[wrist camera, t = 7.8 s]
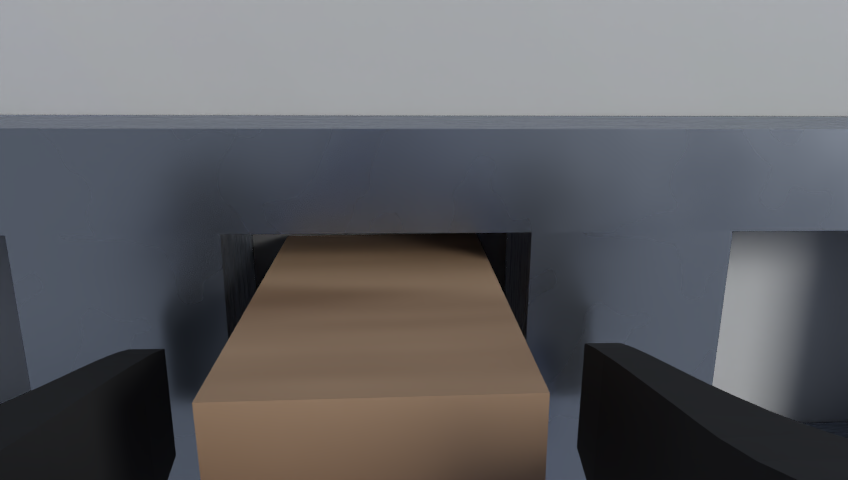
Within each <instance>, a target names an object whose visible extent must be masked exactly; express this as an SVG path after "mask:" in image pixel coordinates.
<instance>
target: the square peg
mask: <svg viewBox="0 0 848 480" xmlns="http://www.w3.org/2000/svg"><path fill="white" fill-rule="evenodd" d="M549 399H550V392H549V390H548V388H547V386H546V384H545V381H544V379H543V377H542V375H541V373H540V371H539V368H538V366H537V364H536V362H535V360H534V358H533V355H532V353H531V351H530V349H529V347H528V345H527V343H526V340H525V338H524V336H523V334H522V332H521V330H520V327H519V325H518V323H517V321H516V319H515V317H514V314H513V312H512V310H511V308H510V306H509V304H508V301H507V299H506V297H505V295H504V293H503V291H502V288H501V286H500V284H499V282H498V280H497V278H496V276H495V273H494V271H493V269H492V267H491V265H490V263H489V260H488V258H487V256H486V254H485V252H484V250H483V247H482V245H481V243H480V241H479V239H478V237H477V234H476V233H436V234H378V235H321V236H288V237H287V239H286V240H285V242H284V244H283V245H282V247H281V249H280V251H279V252H278V254H277V256H276V258H275V259H274V261H273V263H272V265H271V266H270V268H269V270H268V272H267V273H266V275H265V277H264V279H263V280H262V282H261V284H260V285H259V287H258V289H257V291H256V292H255V294H254V296H253V298H252V299H251V301H250V303H249V305H248V306H247V308H246V310H245V312H244V313H243V315H242V317H241V319H240V320H239V322H238V324H237V325H236V327H235V329H234V331H233V332H232V334H231V336H230V338H229V339H228V341H227V343H226V345H225V346H224V348H223V350H222V352H221V353H220V355H219V357H218V359H217V360H216V362H215V364H214V365H213V367H212V369H211V371H210V372H209V374H208V376H207V378H206V379H205V381H204V383H203V385H202V386H201V388H200V390H199V392H198V393H197V395H196V397H195V398H194V400H193V402H192V407H193V416H194V425H195V434H196V443H197V452H198V461H199V470H200V479H201V480H545V479H546V459H547V439H548V419H549Z"/></svg>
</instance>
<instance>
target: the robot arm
mask: <svg viewBox="0 0 848 480" xmlns="http://www.w3.org/2000/svg"><path fill="white" fill-rule="evenodd" d="M577 450H578V453H579V457H580V460H581V463H582V467H583V470H584V474H585V477H586V480H848V438H845V437H841V436H838V435H835V434H832V433H829V432H826V431H823V430H820V429H817V428H815V427H812V426H809V425H806V424H803V423H800V422H797V421H795V420H792V419H789V418H786V417H784V416H781V415H779V414H776V413H773V412H771V411H768V410H766V409H764V408H761V407H759V406H757V405H754V404H752V403H750V402H747V401H745V400H743V399H740V398H738V397H736V396H733V395H731V394H729V393H727V392H725V391H723V390H720V389H718V388H716V387H714V386H712V385H710V384H708V383H706V382H704V381H701V380H699V379H697V378H695V377H693V376H691V375H689V374H687V373H685V372H683V371H681V370H679V369H677V368H675V367H673V366H671V365H669V364H667V363H665V362H663V361H661V360H659V359H657V358H655V357H653V356H651V355H649V354H647V353H645V352H642V351H640V350H638V349H636V348H633V347H631V346H628V345H625V344H622V343H585V346H584V359H583V372H582V385H581V398H580V411H579V424H578V438H577ZM175 457H176V450H175V441H174V432H173V422H172V413H171V404H170V394H169V385H168V376H167V366H166V357H165V349H128V350H124V351H120V352H117V353H114V354H111V355H109V356H106V357H104V358H102V359H99V360H97V361H95V362H92V363H90V364H88V365H86V366H83V367H81V368H79V369H77V370H75V371H73V372H70V373H68V374H66V375H64V376H62V377H60V378H58V379H55V380H53V381H51V382H49V383H47V384H45V385H43V386H40V387H38V388H36V389H34V390H32V391H30V392H27V393H25V394H23V395H21V396H18V397H16V398H14V399H11V400H9V401H7V402H4V403H2V404H0V480H168V478H169V475H170V472H171V469H172V466H173V463H174V460H175Z"/></svg>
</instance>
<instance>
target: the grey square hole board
mask: <svg viewBox="0 0 848 480" xmlns="http://www.w3.org/2000/svg"><path fill="white" fill-rule="evenodd" d="M733 231H848V116H303V115H0V236H5V239H6V245H7V251H8V257H9V263H10V269H11V275H12V281H13V287H14V293H15V299H16V305H17V311H18V316H19V322H20V328H21V334H22V340H23V346H24V352H25V358H26V364H27V370H28V376H29V382H30V387H31V391H32V390H34V389H36V388H38V387H40V386H43V385H45V384H47V383H49V382H51V381H53V380H55V379H58V378H60V377H62V376H64V375H66V374H68V373H70V372H73V371H75V370H77V369H79V368H81V367H83V366H86V365H88V364H90V363H92V362H95V361H97V360H99V359H102V358H104V357H106V356H109V355H111V354H114V353H117V352H120V351H124V350H128V349H165V357H166V366H167V376H168V385H169V394H170V404H171V413H172V422H173V432H174V441H175V450H176V457H175V460H174V463H173V466H172V469H171V472H170V475H169V478H168V480H201V479H200V470H199V461H198V452H197V443H196V434H195V425H194V416H193V407H192V402H193V400H194V398H195V397H196V395H197V393H198V392H199V390H200V388H201V386H202V385H203V383H204V381H205V379H206V378H207V376H208V374H209V372H210V371H211V369H212V367H213V365H214V364H215V362H216V360H217V359H218V357H219V355H220V353H221V352H222V350H223V348H224V346H225V345H226V343H227V341H228V339H229V338H230V336H231V334H232V332H233V331H234V329H235V327H236V325H237V324H238V322H239V320H240V319H241V317H242V315H243V313H244V312H245V310H246V308H247V306H248V305H249V303H250V301H251V299H252V298H253V296H254V294H255V292H256V283H255V268H254V253H253V238H252V234H353V233H507V244H506V269H505V294H504V295H505V297H506V299H507V301H508V304H509V306H510V308H511V310H512V312H513V314H514V317H515V319H516V321H517V323H518V325H519V327H520V330H521V332H522V334H523V336H524V338H525V340H526V343H527V345H528V347H529V349H530V351H531V353H532V355H533V358H534V360H535V362H536V364H537V366H538V368H539V371H540V373H541V375H542V377H543V379H544V381H545V384H546V386H547V388H548V390H549V392H550V399H549V419H548V439H547V459H546V479H545V480H586V477H585V474H584V470H583V467H582V463H581V460H580V457H579V453H578V450H577V438H578V424H579V411H580V398H581V385H582V372H583V359H584V346H585V343H622V344H625V345H628V346H631V347H633V348H636V349H638V350H640V351H642V352H645V353H647V354H649V355H651V356H653V357H655V358H657V359H659V360H661V361H663V362H665V363H667V364H669V365H671V366H673V367H675V368H677V369H679V370H681V371H683V372H685V373H687V374H689V375H691V376H693V377H695V378H697V379H699V380H701V381H704V382H706V383H708V384H710V385H712V382H713V375H714V367H715V360H716V352H717V345H718V338H719V330H720V323H721V315H722V308H723V300H724V293H725V285H726V278H727V270H728V263H729V256H730V248H731V241H732V233H733ZM803 424H806V425H809V426H812V427H815V428H817V429H820V430H823V431H826V432H829V433H832V434H835V435H838V436H841V437H845V438H848V422H827V423H803Z"/></svg>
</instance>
